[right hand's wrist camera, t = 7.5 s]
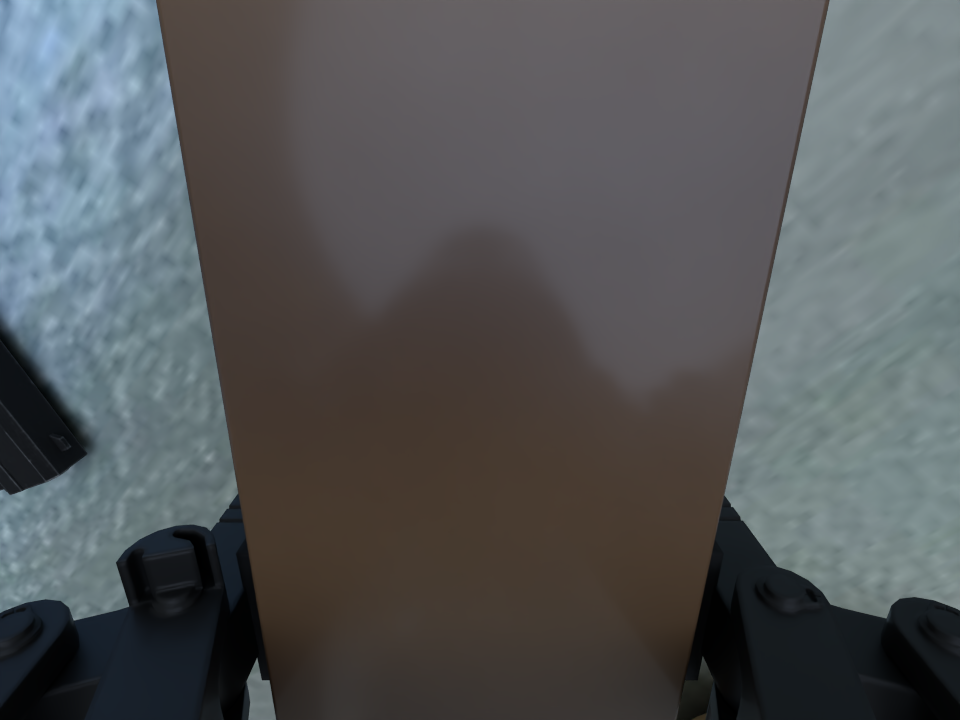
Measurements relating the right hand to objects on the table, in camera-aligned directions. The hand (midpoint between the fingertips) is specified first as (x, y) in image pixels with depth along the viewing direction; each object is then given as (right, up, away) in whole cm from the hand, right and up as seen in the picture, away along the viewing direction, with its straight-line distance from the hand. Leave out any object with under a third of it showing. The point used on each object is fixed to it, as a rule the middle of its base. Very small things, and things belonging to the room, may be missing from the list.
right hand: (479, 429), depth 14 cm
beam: (0, +21, -7) cm, 22 cm away
